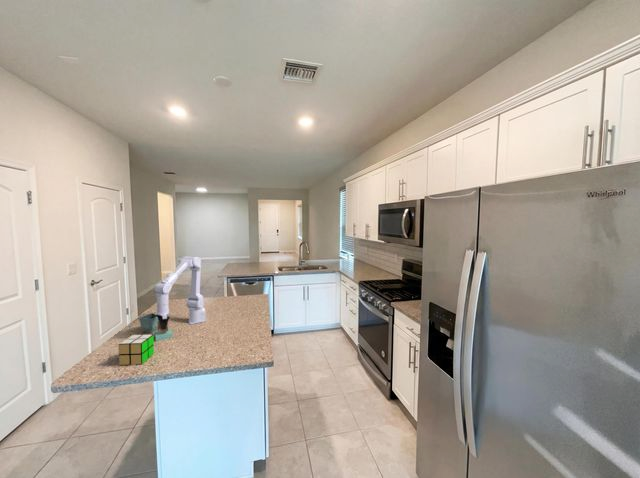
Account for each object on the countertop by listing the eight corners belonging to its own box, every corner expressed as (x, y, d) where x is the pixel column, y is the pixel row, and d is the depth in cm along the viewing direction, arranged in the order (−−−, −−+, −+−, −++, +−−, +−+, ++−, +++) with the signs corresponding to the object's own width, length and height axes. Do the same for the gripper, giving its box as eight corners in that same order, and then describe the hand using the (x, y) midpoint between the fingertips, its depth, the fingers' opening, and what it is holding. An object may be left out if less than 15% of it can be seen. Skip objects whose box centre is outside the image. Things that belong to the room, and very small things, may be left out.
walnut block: (166, 328, 148) (166, 319, 148) (168, 331, 144) (168, 321, 144) (157, 330, 145) (157, 320, 145) (158, 333, 142) (158, 323, 141)
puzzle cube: (132, 354, 125) (132, 334, 125) (154, 353, 126) (153, 334, 125) (118, 365, 115) (118, 343, 115) (141, 364, 116) (141, 343, 116)
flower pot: (151, 334, 149) (151, 319, 148) (138, 332, 151) (138, 317, 150) (163, 328, 157) (163, 314, 157) (151, 327, 159) (151, 313, 159)
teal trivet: (170, 333, 151) (170, 328, 151) (172, 338, 144) (172, 333, 144) (154, 337, 146) (154, 332, 146) (156, 342, 139) (155, 336, 139)
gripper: (153, 302, 147) (153, 325, 148) (155, 308, 136) (156, 333, 137) (167, 300, 152) (167, 322, 152) (171, 306, 140) (171, 330, 141)
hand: (163, 327), depth 145 cm, fingers closed on walnut block, 4 cm apart
